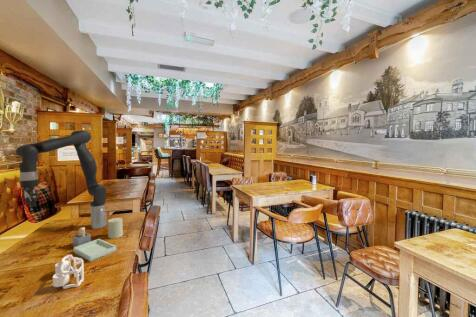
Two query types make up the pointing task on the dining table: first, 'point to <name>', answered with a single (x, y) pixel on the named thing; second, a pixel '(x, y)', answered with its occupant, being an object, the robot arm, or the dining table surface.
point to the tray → (94, 249)
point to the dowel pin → (81, 232)
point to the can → (115, 228)
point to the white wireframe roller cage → (68, 272)
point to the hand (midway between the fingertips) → (31, 205)
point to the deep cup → (81, 239)
